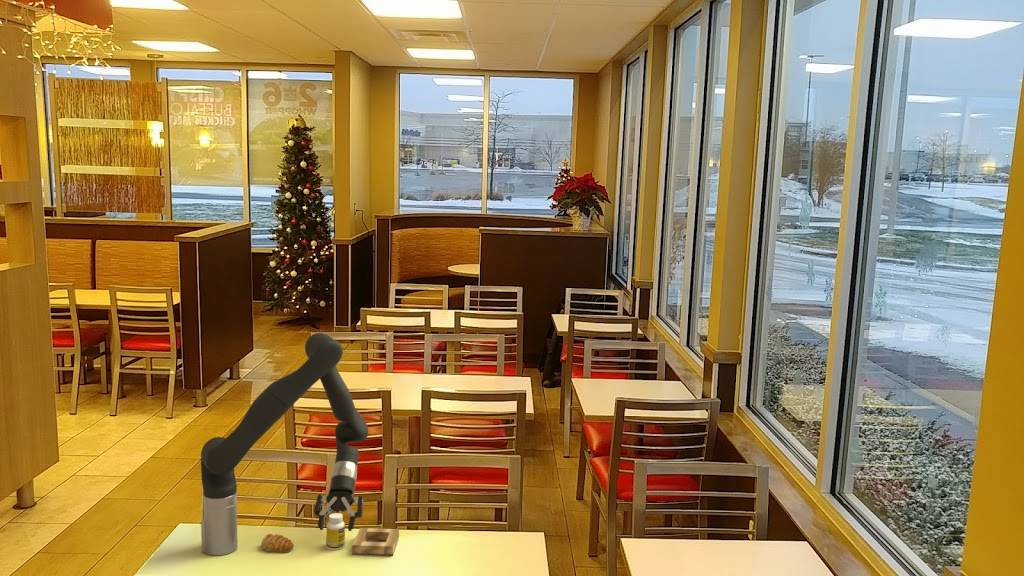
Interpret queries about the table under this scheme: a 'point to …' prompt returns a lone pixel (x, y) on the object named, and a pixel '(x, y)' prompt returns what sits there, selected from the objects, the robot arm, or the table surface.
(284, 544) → the pastry
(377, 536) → the can holder
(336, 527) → the supplement bottle
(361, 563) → the table surface
